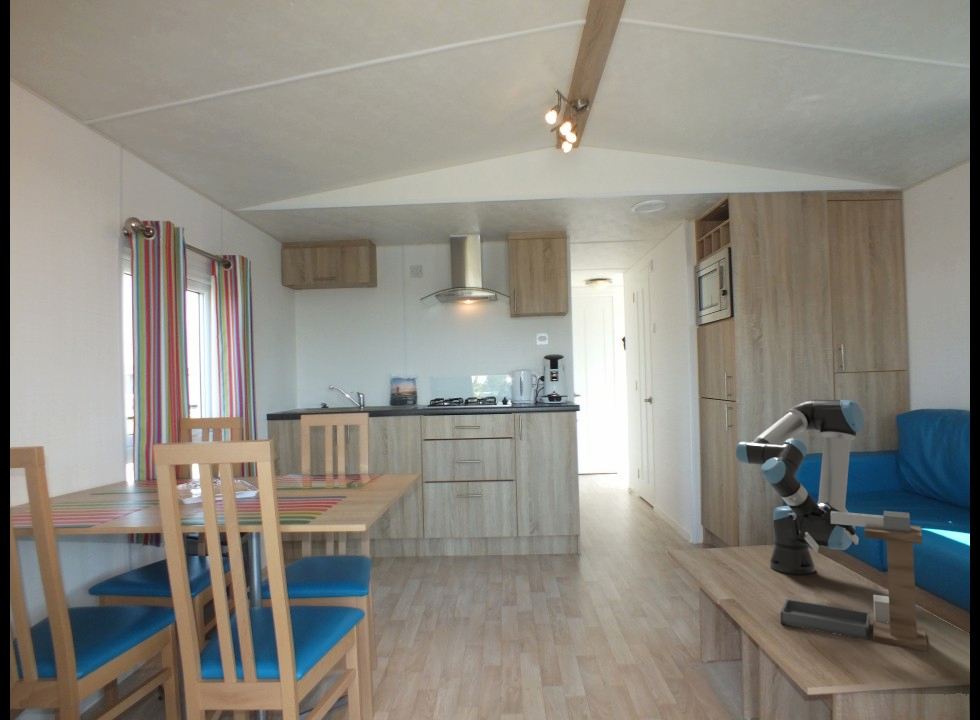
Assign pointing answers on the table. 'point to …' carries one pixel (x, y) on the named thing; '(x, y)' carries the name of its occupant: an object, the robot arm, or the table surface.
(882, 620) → the white cube
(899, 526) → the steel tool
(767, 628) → the table surface
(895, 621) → the shelf post
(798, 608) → the tray
